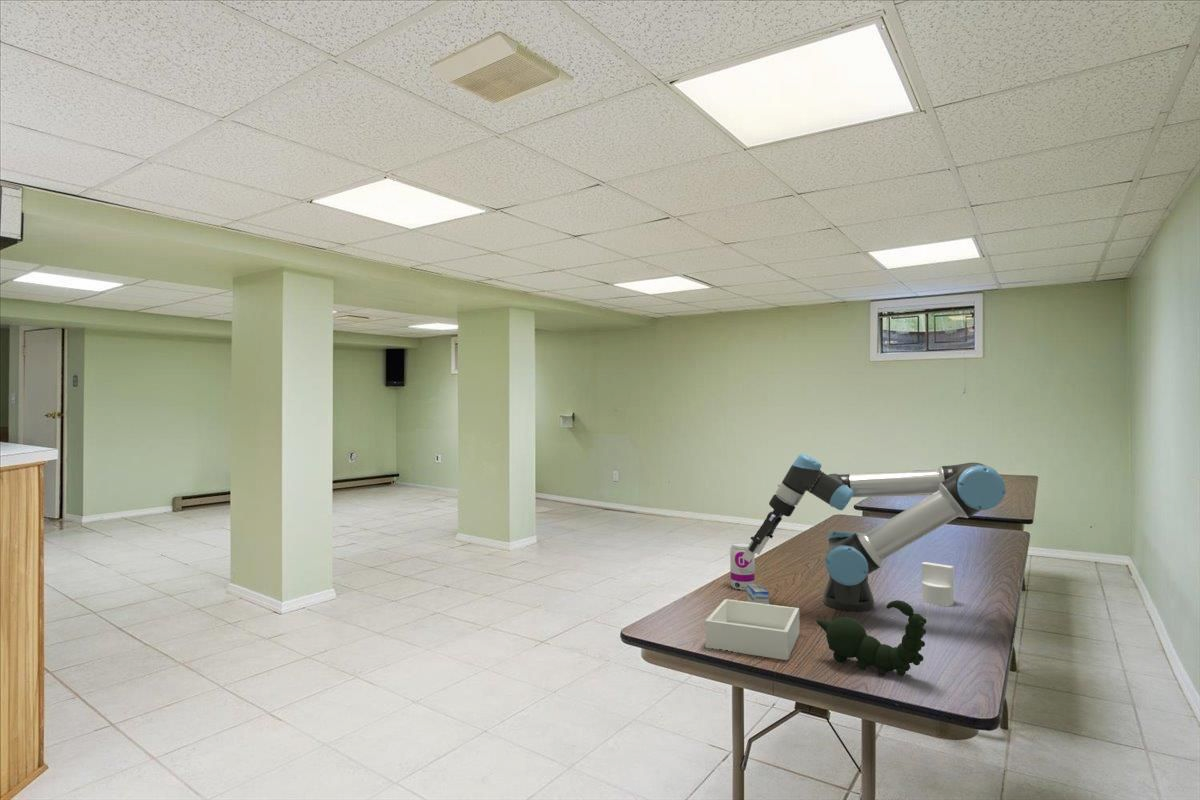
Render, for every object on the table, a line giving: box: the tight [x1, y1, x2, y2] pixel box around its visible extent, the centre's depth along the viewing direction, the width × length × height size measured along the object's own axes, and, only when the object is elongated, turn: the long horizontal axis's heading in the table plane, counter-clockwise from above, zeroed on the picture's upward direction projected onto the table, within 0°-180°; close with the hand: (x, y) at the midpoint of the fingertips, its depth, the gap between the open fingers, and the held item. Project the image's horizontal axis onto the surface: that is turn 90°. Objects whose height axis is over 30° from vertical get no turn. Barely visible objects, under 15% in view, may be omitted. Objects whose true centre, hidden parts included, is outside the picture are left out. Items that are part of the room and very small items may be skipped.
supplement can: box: [729, 542, 756, 591], centre depth 226 cm, size 8×8×15 cm
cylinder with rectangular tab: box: [921, 561, 955, 607], centre depth 208 cm, size 9×9×12 cm
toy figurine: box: [815, 599, 928, 677], centre depth 156 cm, size 9×19×25 cm
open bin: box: [704, 598, 800, 661], centre depth 175 cm, size 21×21×7 cm
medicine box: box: [746, 583, 770, 605], centre depth 195 cm, size 8×4×9 cm, turn 5°
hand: (750, 555), depth 205 cm, fingers open, 13 cm apart
